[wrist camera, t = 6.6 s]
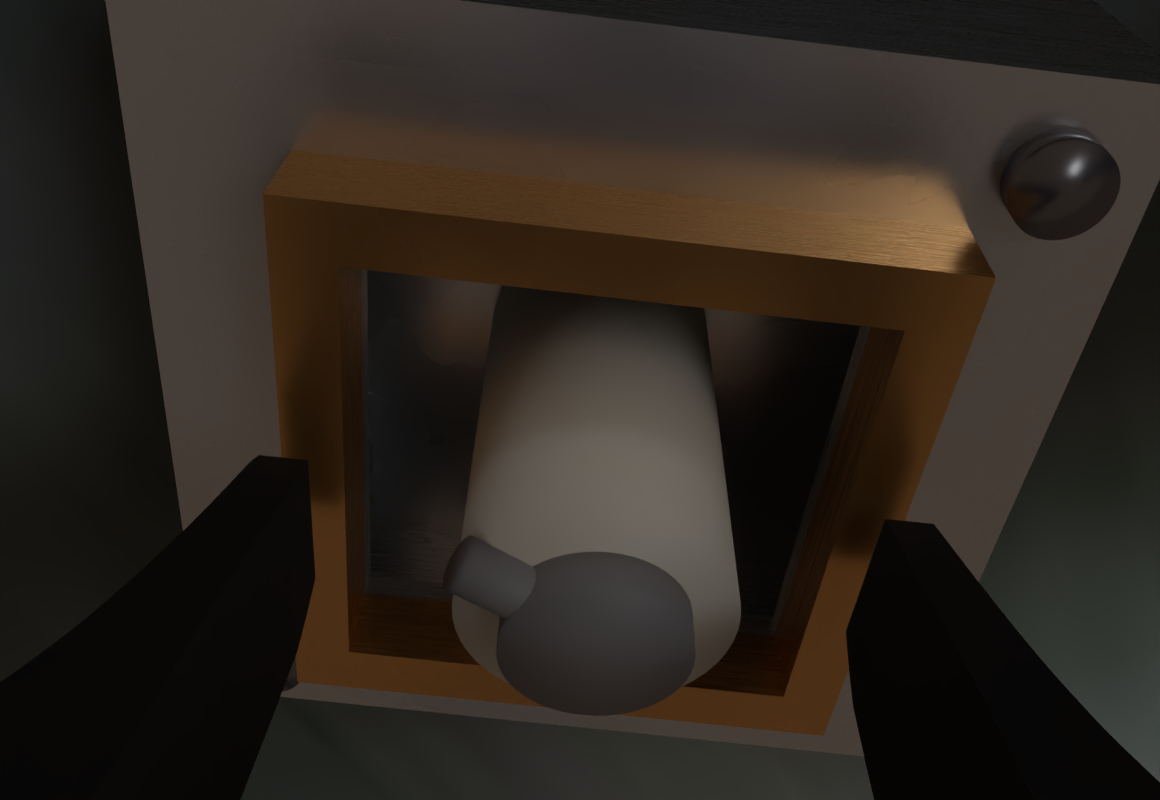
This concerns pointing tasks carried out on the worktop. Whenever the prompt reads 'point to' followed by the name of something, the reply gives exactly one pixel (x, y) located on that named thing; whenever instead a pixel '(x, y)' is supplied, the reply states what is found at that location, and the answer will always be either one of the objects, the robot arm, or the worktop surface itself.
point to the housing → (629, 282)
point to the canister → (596, 505)
